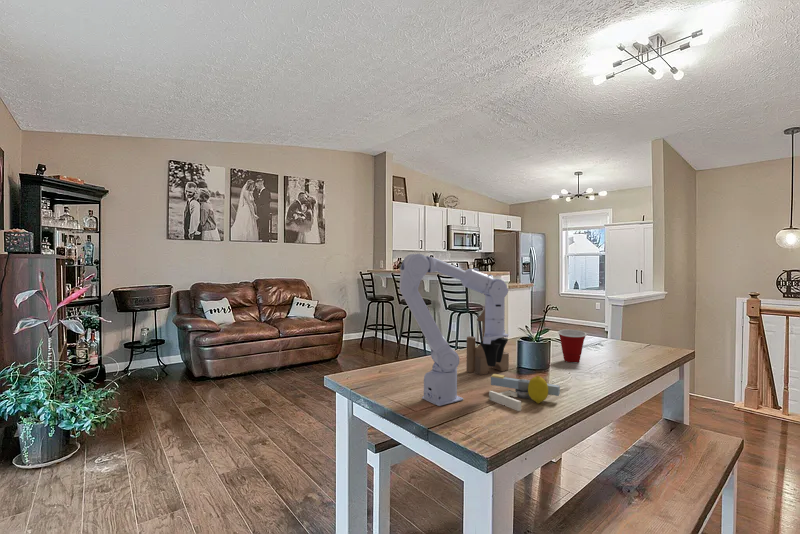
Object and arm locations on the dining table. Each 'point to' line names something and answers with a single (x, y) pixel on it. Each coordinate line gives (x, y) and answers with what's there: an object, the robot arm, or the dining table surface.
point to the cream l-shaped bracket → (506, 399)
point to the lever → (520, 384)
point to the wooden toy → (482, 355)
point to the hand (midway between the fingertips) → (494, 363)
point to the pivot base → (522, 394)
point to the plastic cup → (572, 344)
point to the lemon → (538, 389)
